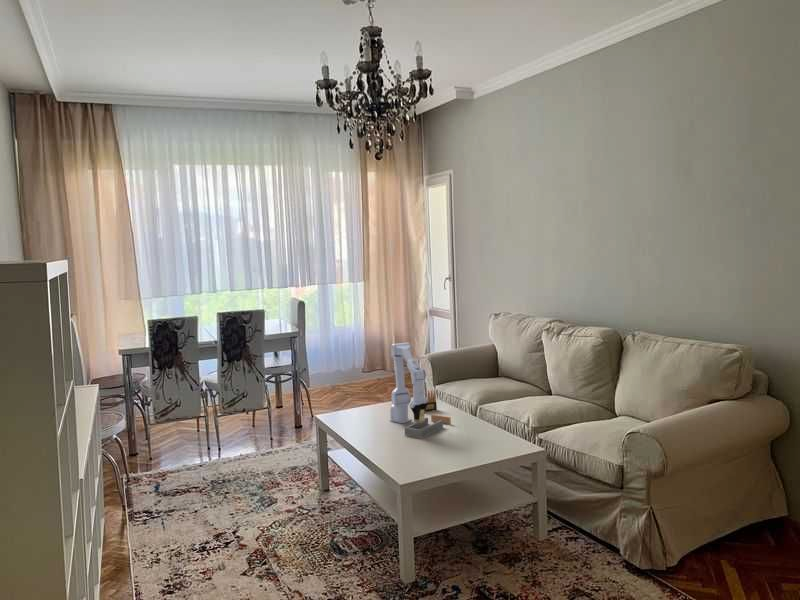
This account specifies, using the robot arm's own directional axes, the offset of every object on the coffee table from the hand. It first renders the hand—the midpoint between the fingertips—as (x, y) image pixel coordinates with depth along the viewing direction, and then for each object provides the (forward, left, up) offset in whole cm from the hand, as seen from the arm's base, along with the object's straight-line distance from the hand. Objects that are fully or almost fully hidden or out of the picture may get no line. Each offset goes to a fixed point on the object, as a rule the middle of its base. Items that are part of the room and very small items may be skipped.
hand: (419, 418), depth 318 cm
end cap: (0, +21, -8) cm, 23 cm away
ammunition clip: (-19, +38, -8) cm, 43 cm away
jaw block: (0, 0, -2) cm, 2 cm away
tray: (0, +4, -8) cm, 9 cm away
